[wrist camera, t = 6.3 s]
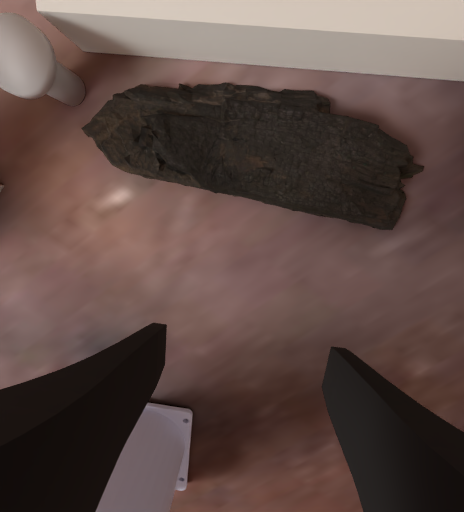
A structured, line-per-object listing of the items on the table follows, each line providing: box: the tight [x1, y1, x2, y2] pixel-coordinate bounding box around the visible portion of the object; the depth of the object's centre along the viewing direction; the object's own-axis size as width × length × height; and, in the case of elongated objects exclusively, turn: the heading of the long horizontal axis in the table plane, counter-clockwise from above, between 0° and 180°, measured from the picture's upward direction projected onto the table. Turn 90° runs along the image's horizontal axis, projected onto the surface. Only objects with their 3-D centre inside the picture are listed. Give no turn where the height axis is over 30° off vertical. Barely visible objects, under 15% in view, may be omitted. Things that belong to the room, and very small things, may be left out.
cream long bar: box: [0, 0, 464, 106], centre depth 13 cm, size 6×31×4 cm, turn 84°
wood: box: [82, 83, 424, 230], centre depth 15 cm, size 22×7×3 cm, turn 78°
